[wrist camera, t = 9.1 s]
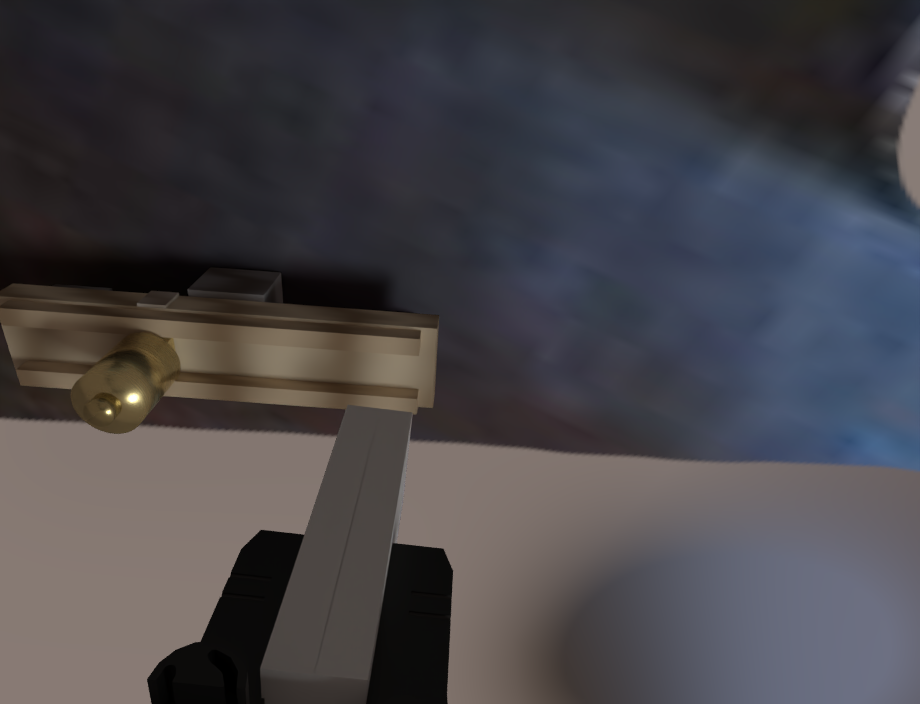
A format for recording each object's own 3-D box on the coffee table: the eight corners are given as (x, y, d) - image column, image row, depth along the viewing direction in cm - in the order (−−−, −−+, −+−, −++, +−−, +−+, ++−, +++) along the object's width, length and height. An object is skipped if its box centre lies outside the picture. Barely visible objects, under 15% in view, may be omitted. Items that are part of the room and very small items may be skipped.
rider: (132, 375, 42) (69, 441, 35) (120, 321, 40) (52, 380, 34) (192, 380, 42) (140, 446, 35) (183, 326, 40) (127, 386, 34)
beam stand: (70, 342, 48) (8, 393, 42) (48, 255, 45) (-24, 296, 38) (437, 369, 48) (431, 424, 42) (442, 284, 45) (436, 330, 38)
